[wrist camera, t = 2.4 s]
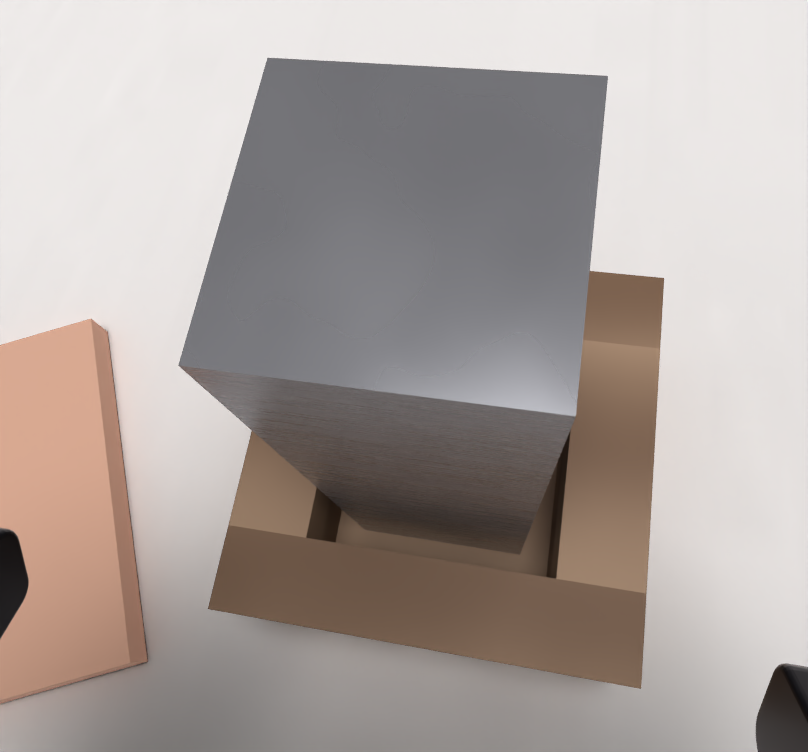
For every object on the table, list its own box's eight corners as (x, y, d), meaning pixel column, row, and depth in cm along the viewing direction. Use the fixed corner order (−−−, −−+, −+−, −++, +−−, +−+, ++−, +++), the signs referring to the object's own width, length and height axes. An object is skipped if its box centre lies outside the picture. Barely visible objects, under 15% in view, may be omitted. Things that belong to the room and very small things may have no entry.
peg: (520, 554, 18) (575, 416, 7) (365, 530, 19) (178, 365, 7) (537, 404, 19) (607, 76, 8) (391, 385, 20) (267, 57, 9)
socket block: (608, 678, 18) (640, 688, 14) (262, 614, 19) (207, 608, 15) (631, 343, 21) (663, 278, 17) (330, 310, 22) (298, 243, 18)
